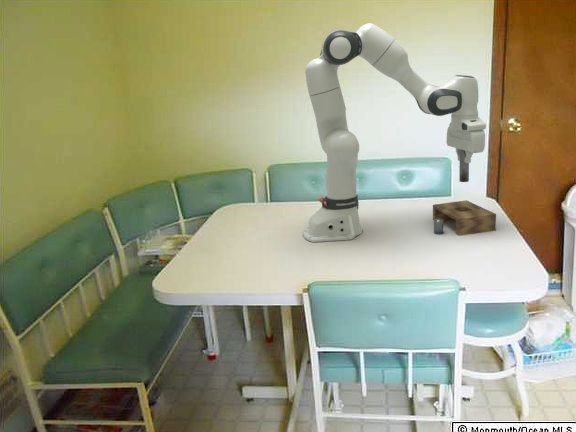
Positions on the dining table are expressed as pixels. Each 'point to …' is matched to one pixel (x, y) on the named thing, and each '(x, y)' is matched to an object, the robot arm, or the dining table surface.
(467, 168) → the long pin
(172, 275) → the dining table surface
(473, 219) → the bridge
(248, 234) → the dining table surface
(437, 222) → the short pin
